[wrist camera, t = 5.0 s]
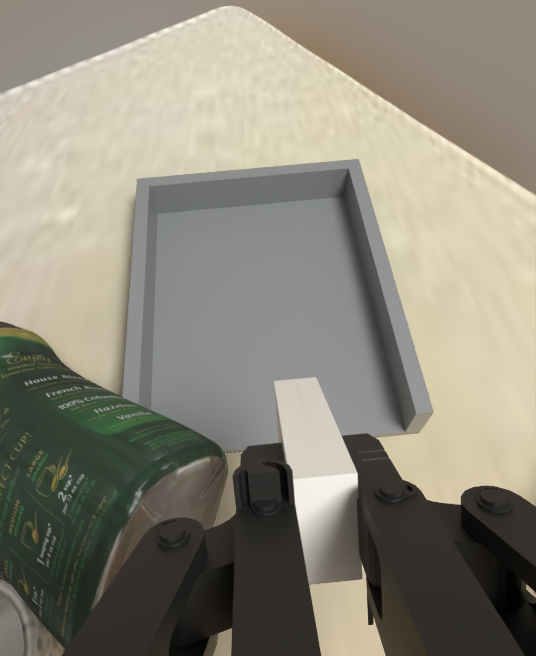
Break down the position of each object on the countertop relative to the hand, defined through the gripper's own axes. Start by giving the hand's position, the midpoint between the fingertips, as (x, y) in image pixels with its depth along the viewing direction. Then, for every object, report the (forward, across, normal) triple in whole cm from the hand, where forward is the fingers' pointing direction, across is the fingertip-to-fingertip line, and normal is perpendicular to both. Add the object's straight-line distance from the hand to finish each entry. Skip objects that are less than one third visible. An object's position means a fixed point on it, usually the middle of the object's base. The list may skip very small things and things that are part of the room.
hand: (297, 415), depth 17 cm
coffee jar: (+2, -6, -7) cm, 9 cm away
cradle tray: (+20, -1, 0) cm, 20 cm away
